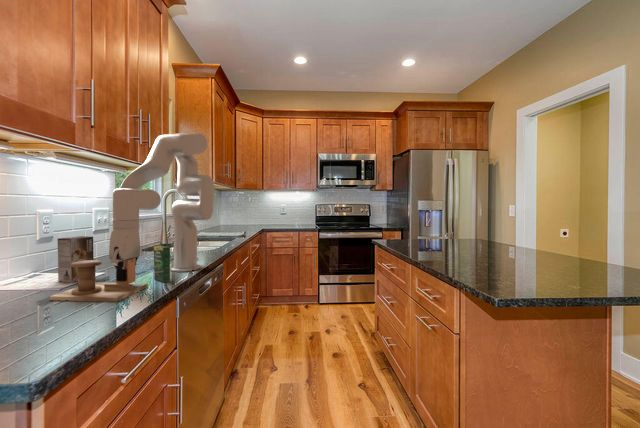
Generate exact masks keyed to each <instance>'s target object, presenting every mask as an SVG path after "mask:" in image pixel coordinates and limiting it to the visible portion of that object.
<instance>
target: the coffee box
mask: <svg viewBox="0 0 640 428" xmlns="http://www.w3.org/2000/svg"><path fill="white" fill-rule="evenodd" d="M94 257H95V256H94V236H85V235H82V236H78V235H77V236H71V237H69V236H68V237H61V238H60V237H59V238H58V237H57V276H58V277H57V281H58V282H59V281H62V283H75V281H76V282H78V267H72V266H71V264H72V263H74V262H79V261H88V260H94V259H95V258H94Z"/></svg>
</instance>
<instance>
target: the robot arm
mask: <svg viewBox="0 0 640 428" xmlns="http://www.w3.org/2000/svg"><path fill="white" fill-rule="evenodd" d="M208 144H209V143H208V139H207V137H206V136H205V135H204V134H203V133H201V132H195V133H194V132H190V133H189V132H188V133H187V132H182V133H181V132H180V133H179V132H178V133H171V134H170V133H168V134H166V133H165V134H161V135H158V136H157V137H156V139H154V143H153V145H152V147H151V149H150V151H149V153H148V155H147V158H146V159H145V161H144V162H143V164H141V165H139V166H138V167H137V168H135V169H134V170H133V171H131V172H130V173H129V174H128V175H127V176H126V177H125V178H124V179H123V181H122V183H121V185H120V187H119V188H115V189H114V190H113V192H112V230H111V233H110V238H109V246H108V247H109V249H108V251H109V252H108V258H109V260H110V263H111V264H112V265H113V266H114V269H115V271H116V272H115V274H116V275H115V276H116V279H115V282H116V281H127V269H125V268H126V260H127V259H131V258H135V267H136V266H137V261H138V259H139V257H140V253H141V240H140V231H139V230H140V211H153V210H155V209H157V208H158V207H159V206H160V205H161V201H162V198H161V194H159V192H157V191H156V190H155V189H150V188H148V189H147V188H142V187H143V186H144V185H146V184H148V183H149V182H152V181H155V180H157V179H159V178H161V177H164V176H166V175H167V174H168V173H169V170H170V169H171V166H172V164H173V161H174V160H176V163H177V176H176V177H177V179H176V190H177V193H178V194H179V195H181V196H184V197H185V196H186V197H198V198H179V199H177V200H175V201H174V202H173V203H172V205H171V214H172V218H173V265H170V272H178V273H180V272H182V273H183V272H193V271H192V270H194V271H197V269H198V270H200V269H201V265H200V264H198V262H199V257H198V228H197V226H196V224H195V223H194V221H208V220H210V219H211V218H212V216H213V213H214V201H215V199H214V198H215V197H214V196H215V184H214V181H213V178H212V177H211V176H210V175H207V174H199V163H198V161H197V159H196V158H195V155H200V154H203V153H205V152H206V151H207V149H208V146H209V145H208ZM119 259H122V260H119ZM120 261H122V263H121V262H120ZM199 268H200V269H199Z"/></svg>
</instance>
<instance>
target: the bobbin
mask: <svg viewBox="0 0 640 428" xmlns="http://www.w3.org/2000/svg"><path fill="white" fill-rule="evenodd" d="M102 262H103V261H102V260H98V259H95V260H88V261H79V262H74V263H72V264H71V266H72V267H78V281H77V287H78V288H76V287H75V288H76V289H74V290H72V295H88V294H93V293H97V292H100V291H101V290H102V287H100V286H95V282H96V267H97V266H101V265H103V264H102Z"/></svg>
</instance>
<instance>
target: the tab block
mask: <svg viewBox="0 0 640 428" xmlns="http://www.w3.org/2000/svg"><path fill="white" fill-rule="evenodd" d="M119 260H122V259H121V258H120V259H119ZM120 262H121V263H122V261H120ZM125 269H127V281H116V280H115V283H116V284H130V283H136V266H135V258H131V259H127V260H126V268H125Z"/></svg>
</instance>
